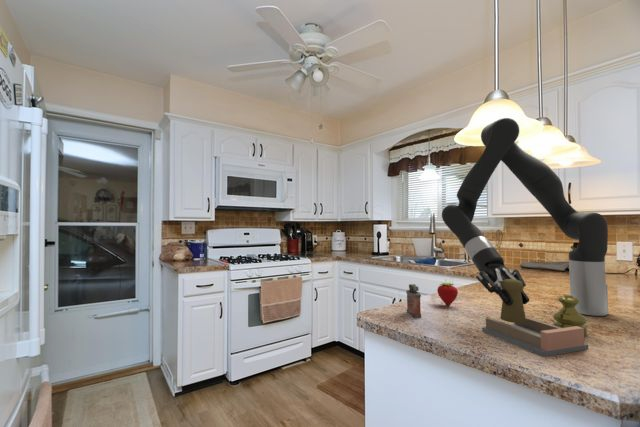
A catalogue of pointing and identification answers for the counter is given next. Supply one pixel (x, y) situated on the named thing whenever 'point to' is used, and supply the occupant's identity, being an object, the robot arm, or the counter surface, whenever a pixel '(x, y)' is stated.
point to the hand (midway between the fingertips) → (518, 303)
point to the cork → (516, 309)
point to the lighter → (413, 301)
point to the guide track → (538, 336)
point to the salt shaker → (569, 314)
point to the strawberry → (447, 293)
